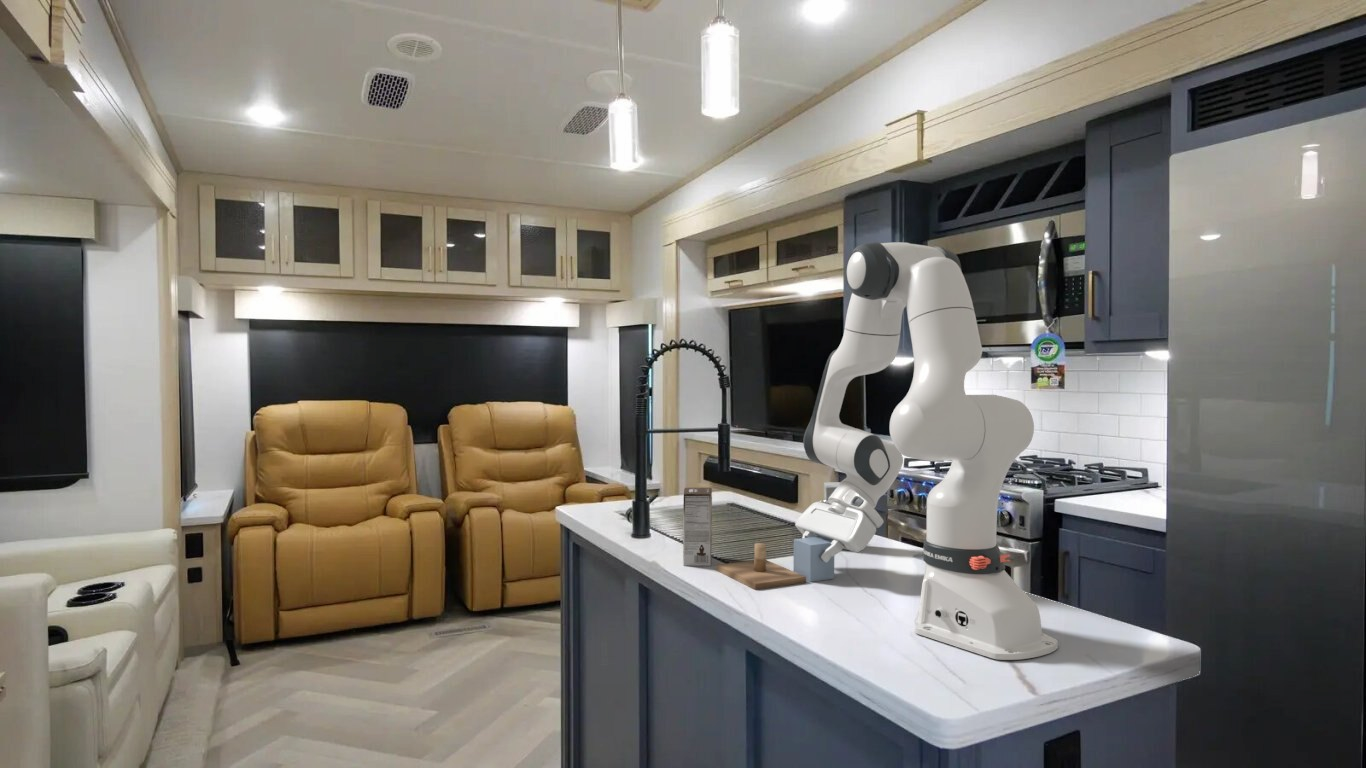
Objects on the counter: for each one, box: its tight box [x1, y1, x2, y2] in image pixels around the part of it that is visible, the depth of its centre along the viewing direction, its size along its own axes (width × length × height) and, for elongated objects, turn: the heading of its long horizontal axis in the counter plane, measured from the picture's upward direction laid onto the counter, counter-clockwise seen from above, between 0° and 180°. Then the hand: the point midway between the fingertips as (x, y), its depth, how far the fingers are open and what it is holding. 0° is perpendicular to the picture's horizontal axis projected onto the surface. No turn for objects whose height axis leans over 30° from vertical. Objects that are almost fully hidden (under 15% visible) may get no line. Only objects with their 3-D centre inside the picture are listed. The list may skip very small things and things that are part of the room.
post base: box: [716, 542, 807, 590], centre depth 158 cm, size 16×12×7 cm
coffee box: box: [682, 487, 713, 567], centre depth 171 cm, size 9×6×16 cm
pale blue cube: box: [793, 537, 835, 583], centre depth 158 cm, size 6×6×8 cm
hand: (811, 555), depth 158 cm, fingers closed on pale blue cube, 6 cm apart
